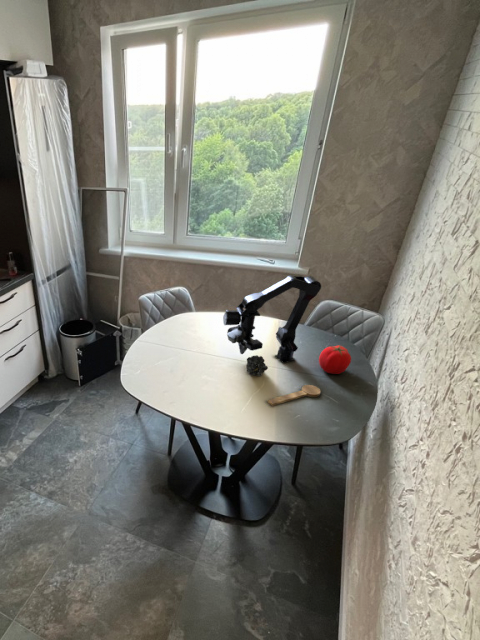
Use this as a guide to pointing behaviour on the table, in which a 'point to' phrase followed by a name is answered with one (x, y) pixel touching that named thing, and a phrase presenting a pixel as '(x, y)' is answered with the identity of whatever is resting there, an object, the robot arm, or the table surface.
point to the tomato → (334, 359)
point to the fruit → (256, 365)
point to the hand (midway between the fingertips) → (241, 353)
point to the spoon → (297, 395)
